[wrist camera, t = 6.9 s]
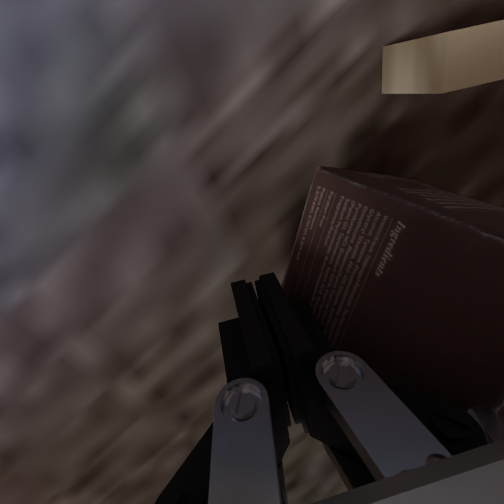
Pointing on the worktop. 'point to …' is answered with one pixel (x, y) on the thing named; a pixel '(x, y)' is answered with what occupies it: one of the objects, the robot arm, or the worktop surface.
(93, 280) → the worktop surface
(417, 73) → the channel
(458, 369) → the box
